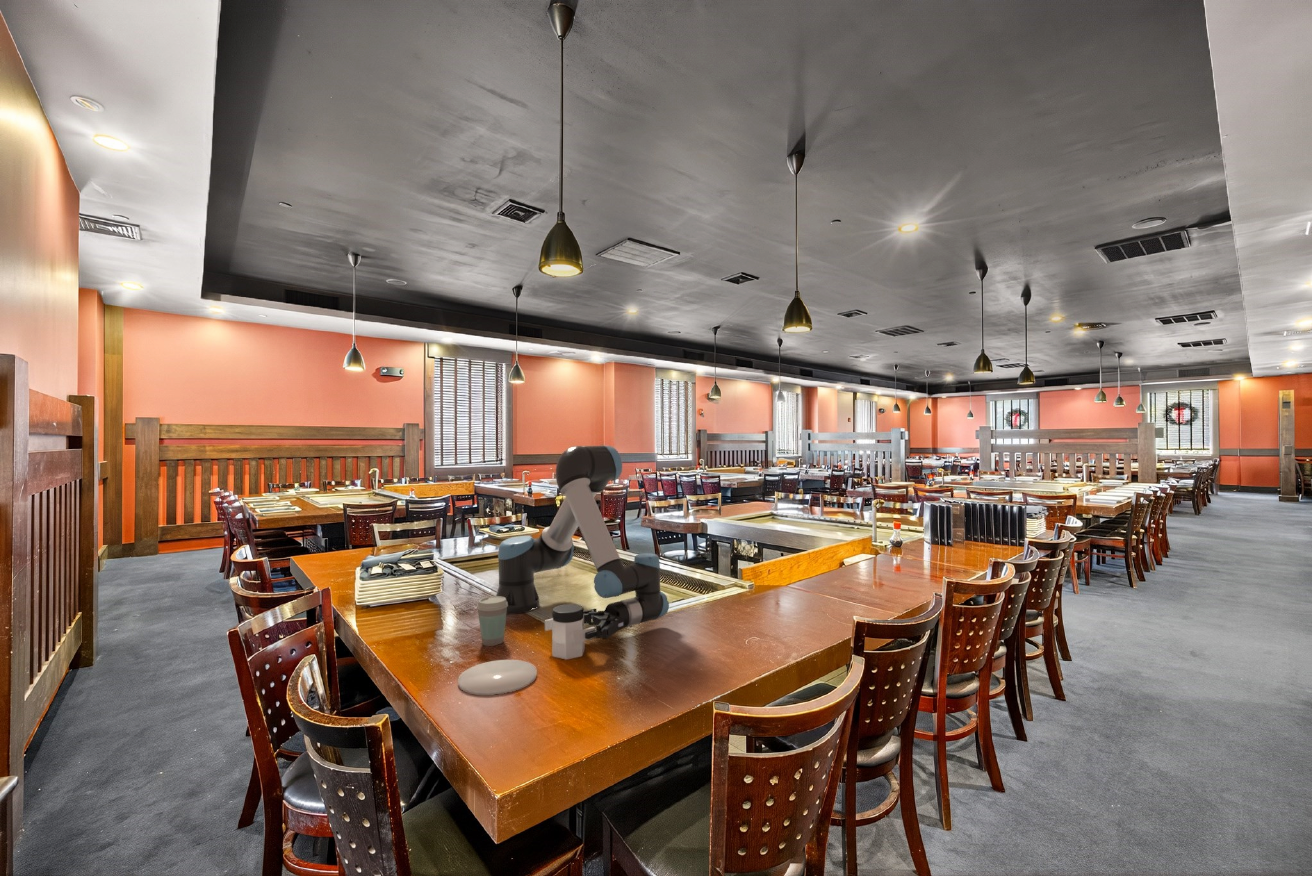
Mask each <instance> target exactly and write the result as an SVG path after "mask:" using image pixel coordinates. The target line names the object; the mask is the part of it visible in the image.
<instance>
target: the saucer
mask: <svg viewBox="0 0 1312 876" xmlns="http://www.w3.org/2000/svg"><path fill="white" fill-rule="evenodd" d="M537 672H538V671H537V667H536V666H535V665H534V664H533V663H530V662H528V661H525V660H520V659H497V660H491V661H487V662H482V663H479V664H476V665H473V666H471V667H469V668H467V669H465V670H464V671H463V672H462V673H460V675H459V677H458V680H457V683H458V685H457V686H458V688H459V689H460V690H461V691H462V690H463V691H462V692H464V693H467V694H470V695H474V694H475V695H476V694H477V695H476V696H495V695H494V694H499V695H503V694H504V693H505V694H508V693H507V692H510V693H513V692H516V690H517V691H519V690H522V689H523V688H526V687H527V686H529V685H531V684H532V683H533V682H534V681H535V680H536V679H537V677H538V675H537ZM536 676H537V677H536ZM530 683H531V684H530ZM512 691H513V692H512Z"/></svg>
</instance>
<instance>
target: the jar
mask: <svg viewBox="0 0 1312 876" xmlns="http://www.w3.org/2000/svg"><path fill="white" fill-rule="evenodd" d="M583 610H584V606H583V605H581V604H576V603H568V604H567V603H566V604H560V605H556V606H555V607H553V609H552V612H551V613H552V615H551V616H552V618H553V621H552V630H551V637H552V639H551V641H552V642H551V646H552V648H551V649H552V650H551V651H552V654H551V655H552V657H553V658H557V659H563V660H570V659H577V658H580V657H583V655H584V653H585V641H583V642H579V643H576V644H573V643H572V633H573V632H576V631H580V630H583V629H585V624H584V614H583Z"/></svg>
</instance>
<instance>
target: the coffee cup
mask: <svg viewBox="0 0 1312 876" xmlns="http://www.w3.org/2000/svg"><path fill="white" fill-rule="evenodd" d="M477 602H478V603H477V605H476V609H477V612H478V614H477V615H478V620H479V621H478V623H479V630H480V636H481V637H480V638H481V644H482V645H483V646H486V647H492V646H493V647H494V646H498V644H499V645H501V644H503V643H504V640H505V629H506V622H507V621H506V620H507V613H506V612H507V606H508V602H507V601H506V598H505V597H501V596H496V595H493V596H485V597H483V598H480V599H478V601H477Z"/></svg>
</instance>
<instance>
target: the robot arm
mask: <svg viewBox="0 0 1312 876" xmlns="http://www.w3.org/2000/svg"><path fill="white" fill-rule="evenodd" d="M622 472H623V461H622V457H621V454H620V453H619V451H618V450H617V449H616V448H615V447H613V446H611V445H604V444H601V445H584V446H583V445H575V446H571V447H569V448H567V449H566V450H564V451H562V453H561V455H560V456H559V458H558V460H557V463H556V466H555V480H556V483H557V487H558V490H559V492H560V494H561V495H562V496H565V497H564V499H563V501H562V504H561V505H560V507H559V509H558V510H557V512H556V515H555V516H554V518H553V520H552V522H551V524H550V526H546V527H545V528H544V529H542V532H541V533H540V535H539V536H538V537H536V538H533V536H531V535H520V536H513V537H509V538H506V539H504V540H502V541H501V542H500V544H499V545H498V553H497V557H498V588H497V591H496V594H495V596H501V597H505V598H506V601H507V602H508V606H507V612H506V615H508V614H509V615H510V614H521V613H527V612H528V613H529V612H531V611H530V610H531V609H532V608H536V607H538V608H539V607H540V596H539V594H538V591H537V589H536V588H537V587H536V586H535V574H537V573H540V572H546V571H551V570H557V569H558V570H559V569H560V568H563V567H565V566H567V565H568V564H570V562H571V561H572V560H573V557H574V553H575V552H574V551H573V550H575V546H574V542H573V541H574V540H573V536H574V535H575V533H576V531H577V530H578V529H579V531H580V533H581V535H582V539H583V540H584V543H585V545H586V549H587V550H588V552H589V555H590V557H591V559H592V560H591V561H592V562H593V565H594V567H595V569H596V571H597V573H596V574H595V576H594V579H593V583H594V590H595V592H596V593H597V595H598V596H599V597H600V598H603V599H608V598H609V599H610V598H614V597H615V598H616V597H619V596H621V595H624V594H628V593H632V592H634V593H635V597H629V598H626V599H621V600H620V601H619V600H618V601H616V602H610V603H608V604H607V605H606V607H605V609H604V610H597V608H591V609H583V614H584V625H586V624H588V626H591V627H587V628H584V629H583V630H580V631H576V632H573V633H572V643H573V644H576V643H579V642H583V641H584V642H586V641H589V640H593V639H595V638H597V639H600V638H602V639H603V640H606V639H608V638H609V637H611V636H612V635H614V634H615V633H616V632H619V631H620V630H623V629H625V628H628V627H629V628H632V627H633V626H635V625H639V624H643V623H645V622H649V621H654V620H657V619H659V618H662V617H664V616H665V615H666V614H667V613H668V611H669V609H670V608H669V607H670V602H669V600H668V596H667V595H666V594H665V593H664V592H663V591H661V564H660V558H659V555H658V554H656V553H649V552H648V553H647V552H646V553H637V554H636V555H635V556H634V559H633V563H632V564H627V565H624V562H623V561H622V558H621V557H620V555H619V553H618V550H617V548H616V545H615V543H614V541H613V538H612V536H611V534H610V531H609V530H608V528H607V527H608V526H607V525H606V522H605V520H604V518H603V515H602V513H601V511H600V509H599V506H598V504H597V501H596V499H595V497H596V495H597V494H599V493H602V492H603V491H605V489H606V487H607V485H608V484H609V482H610V481H611V482H613V481H616V480H618V479H619V478H620V477H621V474H622ZM552 621H553V617H551V618H549V619H545V620H544V631H545V632H547V631H552Z"/></svg>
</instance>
